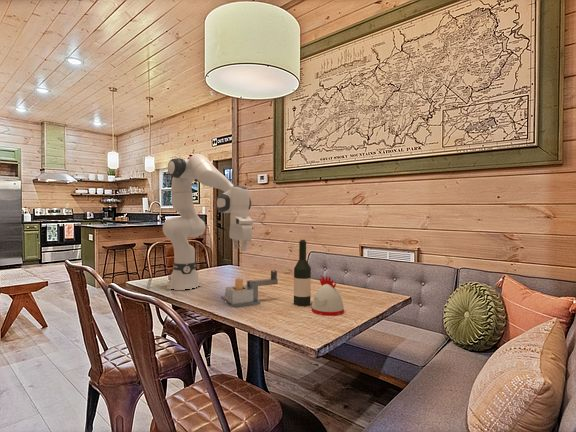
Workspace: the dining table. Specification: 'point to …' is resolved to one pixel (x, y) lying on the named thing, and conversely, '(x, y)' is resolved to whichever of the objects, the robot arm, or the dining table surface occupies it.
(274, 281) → the crank handle
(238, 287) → the orange rounded cylinder
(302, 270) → the wine bottle
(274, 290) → the dining table surface
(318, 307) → the kitchen timer
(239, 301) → the mount
